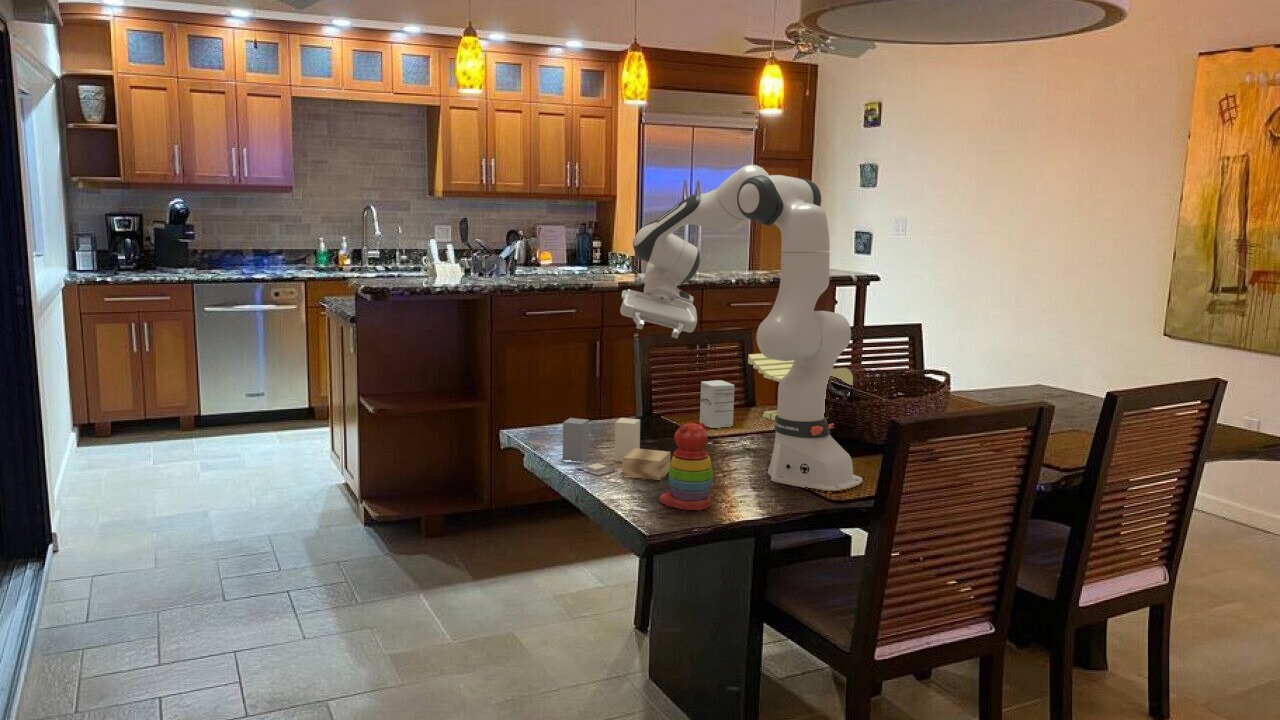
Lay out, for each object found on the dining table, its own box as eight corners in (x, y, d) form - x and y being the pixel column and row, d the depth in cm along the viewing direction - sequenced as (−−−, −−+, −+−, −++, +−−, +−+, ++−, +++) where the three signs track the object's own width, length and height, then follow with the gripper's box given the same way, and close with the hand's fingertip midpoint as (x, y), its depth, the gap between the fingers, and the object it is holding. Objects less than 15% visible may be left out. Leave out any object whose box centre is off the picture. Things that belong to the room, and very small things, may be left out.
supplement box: (698, 423, 278) (700, 381, 276) (721, 421, 281) (722, 379, 279) (711, 429, 272) (712, 385, 270) (733, 427, 275) (735, 384, 273)
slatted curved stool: (850, 427, 277) (853, 367, 274) (805, 432, 270) (809, 370, 267) (788, 406, 304) (790, 351, 301) (746, 411, 296) (748, 354, 293)
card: (617, 471, 228) (617, 467, 228) (598, 476, 224) (598, 472, 224) (594, 464, 234) (594, 460, 234) (576, 468, 230) (576, 464, 229)
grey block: (588, 458, 239) (588, 419, 237) (581, 463, 234) (582, 424, 233) (569, 456, 240) (569, 418, 239) (562, 461, 236) (562, 422, 234)
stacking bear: (697, 494, 212) (700, 415, 209) (723, 507, 203) (725, 425, 200) (655, 500, 207) (657, 420, 204) (679, 514, 198) (681, 430, 195)
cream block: (639, 458, 240) (640, 419, 239) (633, 463, 236) (634, 423, 234) (620, 456, 242) (621, 417, 240) (614, 461, 237) (615, 422, 235)
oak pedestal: (670, 471, 230) (670, 451, 229) (659, 482, 221) (660, 461, 220) (634, 468, 232) (634, 448, 231) (622, 478, 224) (623, 457, 223)
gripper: (625, 279, 251) (621, 312, 241) (699, 298, 254) (699, 332, 244) (619, 296, 255) (615, 330, 245) (691, 315, 259) (691, 349, 248)
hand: (657, 331), depth 245 cm, fingers open, 8 cm apart
